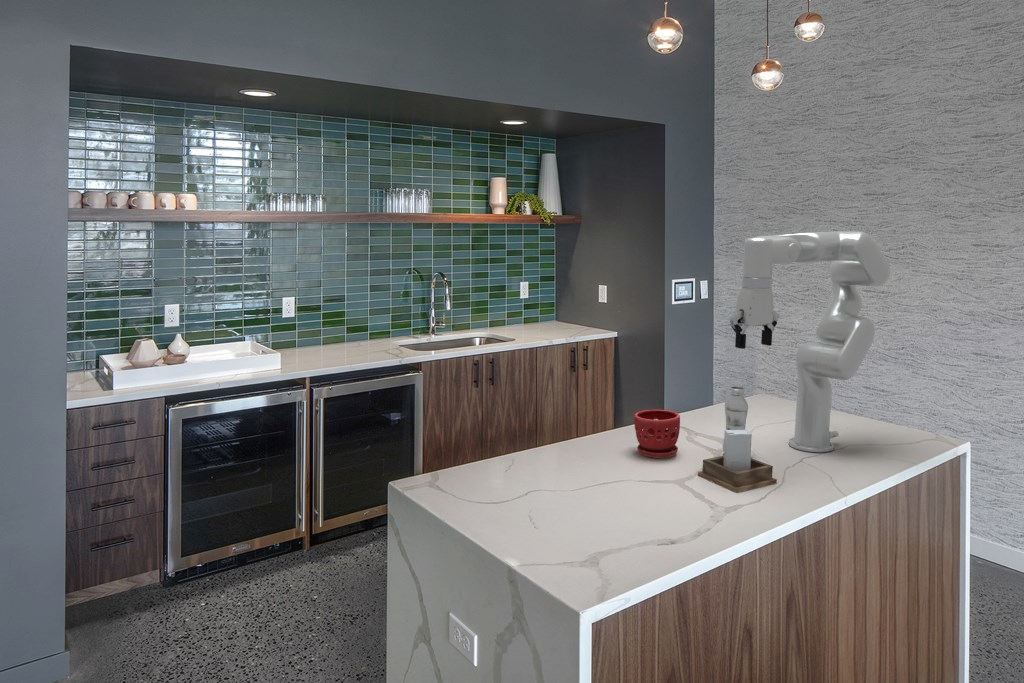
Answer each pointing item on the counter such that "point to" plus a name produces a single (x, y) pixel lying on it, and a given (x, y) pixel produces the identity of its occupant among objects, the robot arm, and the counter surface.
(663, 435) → the plant pot
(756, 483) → the square wooden tray
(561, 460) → the counter surface
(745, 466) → the skincare box
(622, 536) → the counter surface
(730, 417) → the plastic bottle
